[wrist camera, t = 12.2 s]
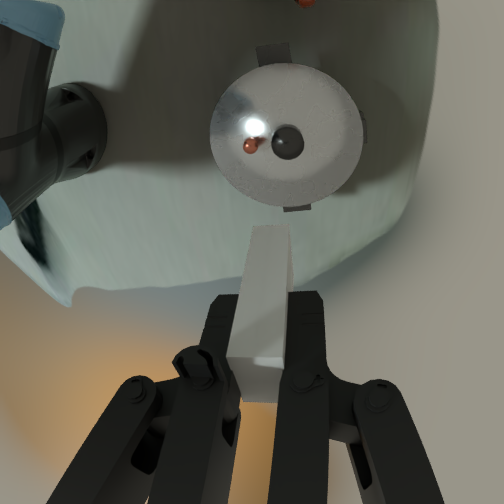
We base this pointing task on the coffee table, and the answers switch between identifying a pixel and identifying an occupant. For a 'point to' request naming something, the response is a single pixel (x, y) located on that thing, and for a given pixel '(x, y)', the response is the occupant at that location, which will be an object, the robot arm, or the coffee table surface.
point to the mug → (304, 3)
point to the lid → (286, 134)
